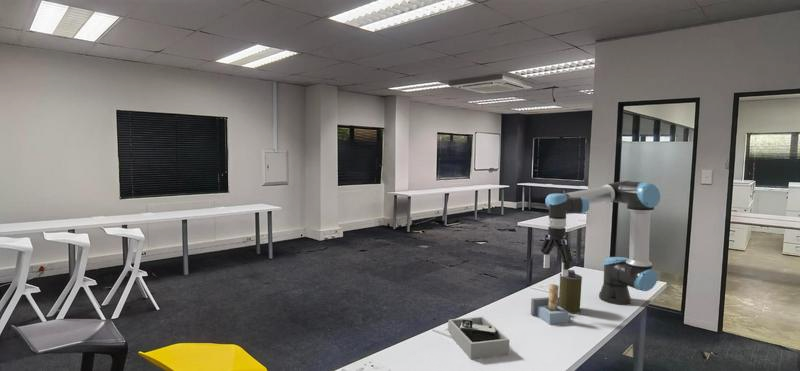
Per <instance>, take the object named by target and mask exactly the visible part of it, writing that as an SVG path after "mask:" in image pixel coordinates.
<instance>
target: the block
mask: <svg viewBox="0 0 800 371" xmlns="http://www.w3.org/2000/svg"><path fill="white" fill-rule="evenodd" d="M569 316H570V313H569V312H568V311H566V310H564V309H563V308H561V307H559V306H558V307H557V311H550V310H548V305H542V306H537V316H536V317H538V318H539V319H540V320H542V321H543V322H545V323H546V324H548V325H559V324H567V323H569V319H570V318H569Z"/></svg>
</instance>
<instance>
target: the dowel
mask: <svg viewBox="0 0 800 371" xmlns="http://www.w3.org/2000/svg"><path fill="white" fill-rule="evenodd" d="M548 288H549V291H548V297H549V305H548V310H550V311H557V307H558V298H559V289H560V285H559V284H551V283H550V284H549V286H548Z"/></svg>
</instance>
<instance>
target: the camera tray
mask: <svg viewBox="0 0 800 371" xmlns="http://www.w3.org/2000/svg"><path fill="white" fill-rule="evenodd" d="M465 318H466V319H472V325H473V324H477V325H484V326H491V327H495V325H493V324H492V323H490V321H489V320H487V319H486V318H485V317H483V316H474V317H473V316H472V317H465ZM462 319H463V317H462V318H461V317H460V318H451V319H448V322H447V324H448V325H447V332H448V331H449V333H450V334H451V335H452V337H451V338H452V340H453V341H454V343H456V345H457V346H459V348H460V349H461V350H462V351H463V352H464V353H465V355H466V354H467V355H466V356H467V357H468V358H469V360H475V359H474V358H478V359H483V357H486V358H492V357H493V356H494V357H501V356H509V355H510V338H508V337H507V336H506V335H505V334H503V333H502V332H501V331H500V330H499V329H498V328H496V340H491V341H481V342H472V341H471V340H470V339H469V338H468V337H467V336H466V335H465V334H464V333H463V332H462V331H461V330H460V326H461V324H462ZM466 322H467V321H466ZM466 322H464V324H465V325H466ZM468 323H469V324H470V322H469V321H468Z"/></svg>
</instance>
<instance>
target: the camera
mask: <svg viewBox="0 0 800 371" xmlns="http://www.w3.org/2000/svg"><path fill="white" fill-rule="evenodd" d="M462 318H463V317H462ZM466 318H467V317H464V318H463V319H462V324H461V326H460V330H461V331H462V332H463V333H464V334H465V335H466V336H467V337H468V338H469V339H470V340H471V341H472V342H481V341H491V340H496V329H497V327H496V326H494V327H491V326H484V325H477V324H473V325H472V319H466ZM466 321H467V322H466ZM468 321H469V322H470V324H469V323H468ZM464 322H466V325H465V324H464Z"/></svg>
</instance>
